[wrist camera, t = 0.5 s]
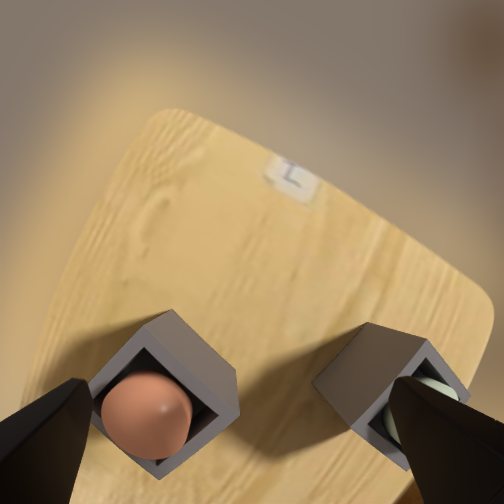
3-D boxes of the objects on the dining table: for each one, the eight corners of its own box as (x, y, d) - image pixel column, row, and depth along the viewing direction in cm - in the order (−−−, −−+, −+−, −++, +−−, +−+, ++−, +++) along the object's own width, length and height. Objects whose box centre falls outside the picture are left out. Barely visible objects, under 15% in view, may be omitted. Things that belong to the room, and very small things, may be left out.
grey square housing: (178, 421, 23) (159, 480, 14) (117, 365, 23) (70, 401, 14) (235, 369, 24) (240, 415, 15) (172, 309, 24) (142, 325, 15)
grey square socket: (360, 424, 25) (406, 471, 16) (311, 382, 25) (349, 427, 16) (410, 368, 25) (471, 395, 16) (367, 322, 25) (426, 339, 16)
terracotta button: (158, 451, 16) (150, 472, 13) (101, 400, 16) (85, 415, 13) (209, 408, 16) (207, 427, 14) (149, 352, 16) (137, 364, 14)
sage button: (404, 447, 17) (421, 462, 14) (368, 416, 17) (386, 432, 14) (446, 397, 17) (467, 407, 15) (416, 362, 17) (438, 370, 15)
